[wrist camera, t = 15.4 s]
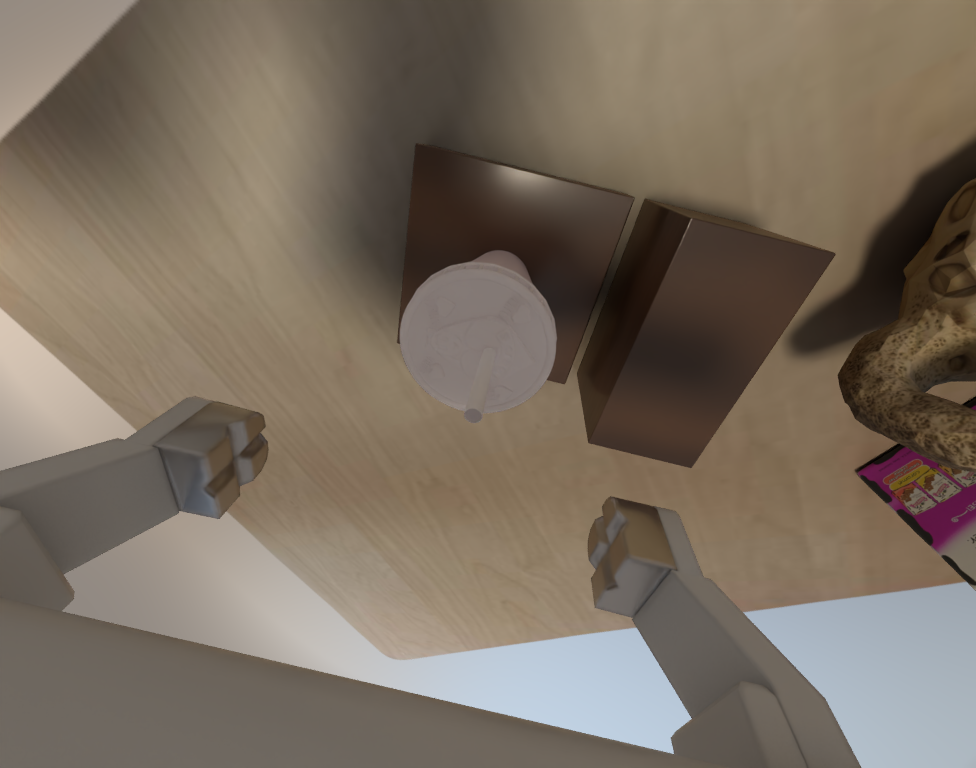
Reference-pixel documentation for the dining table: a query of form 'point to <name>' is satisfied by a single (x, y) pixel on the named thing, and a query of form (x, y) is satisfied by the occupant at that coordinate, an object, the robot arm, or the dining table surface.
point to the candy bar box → (931, 503)
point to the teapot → (925, 347)
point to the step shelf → (621, 291)
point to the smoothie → (479, 335)
